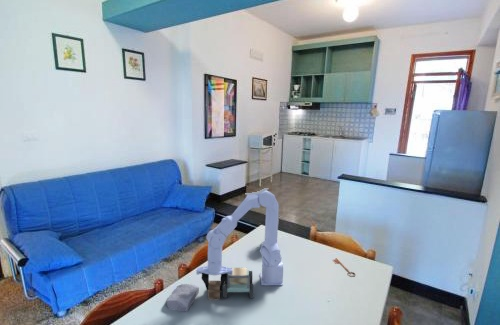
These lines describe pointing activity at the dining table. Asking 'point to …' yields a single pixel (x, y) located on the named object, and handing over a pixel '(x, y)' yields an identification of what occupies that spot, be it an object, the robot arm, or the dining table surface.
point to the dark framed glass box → (239, 282)
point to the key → (343, 266)
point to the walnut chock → (214, 289)
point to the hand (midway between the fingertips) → (214, 289)
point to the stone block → (182, 297)
